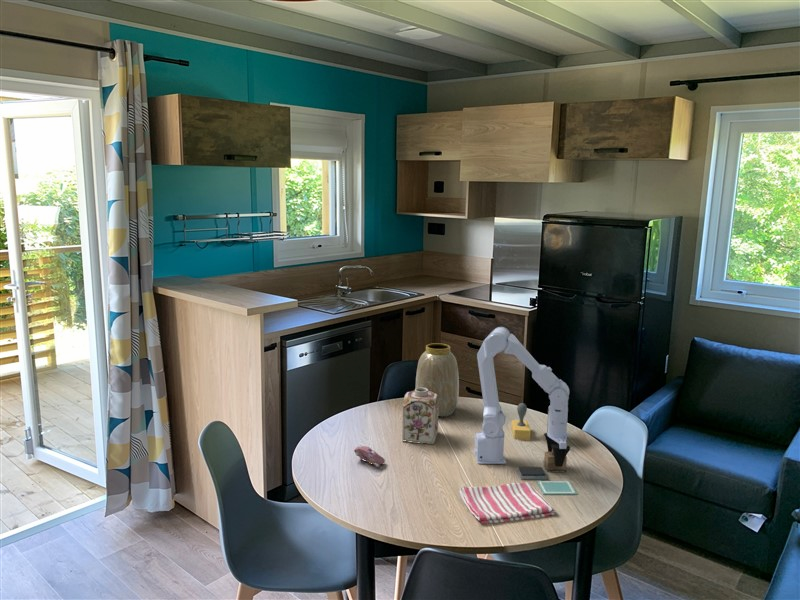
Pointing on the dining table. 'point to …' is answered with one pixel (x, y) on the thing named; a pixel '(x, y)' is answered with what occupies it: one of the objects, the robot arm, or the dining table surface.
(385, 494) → the dining table surface
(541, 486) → the marked card
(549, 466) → the hand stamp
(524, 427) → the rubber stamp
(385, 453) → the dining table surface
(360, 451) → the pink rounded piece
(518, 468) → the ink pad
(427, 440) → the decorative jar
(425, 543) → the dining table surface
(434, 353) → the vase
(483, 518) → the dish towel
